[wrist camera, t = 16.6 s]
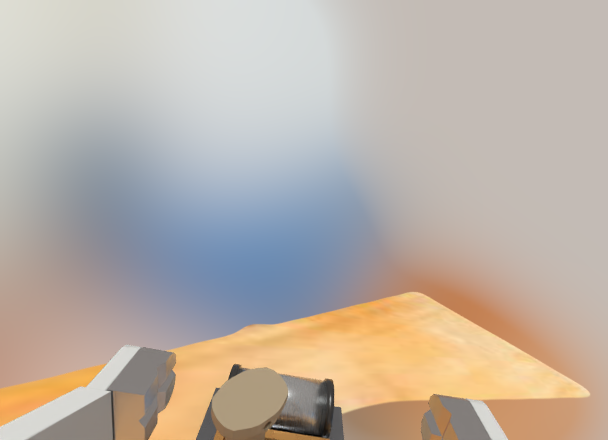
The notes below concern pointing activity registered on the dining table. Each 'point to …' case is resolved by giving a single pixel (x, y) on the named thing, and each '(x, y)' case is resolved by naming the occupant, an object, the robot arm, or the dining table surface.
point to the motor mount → (294, 412)
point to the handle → (249, 404)
